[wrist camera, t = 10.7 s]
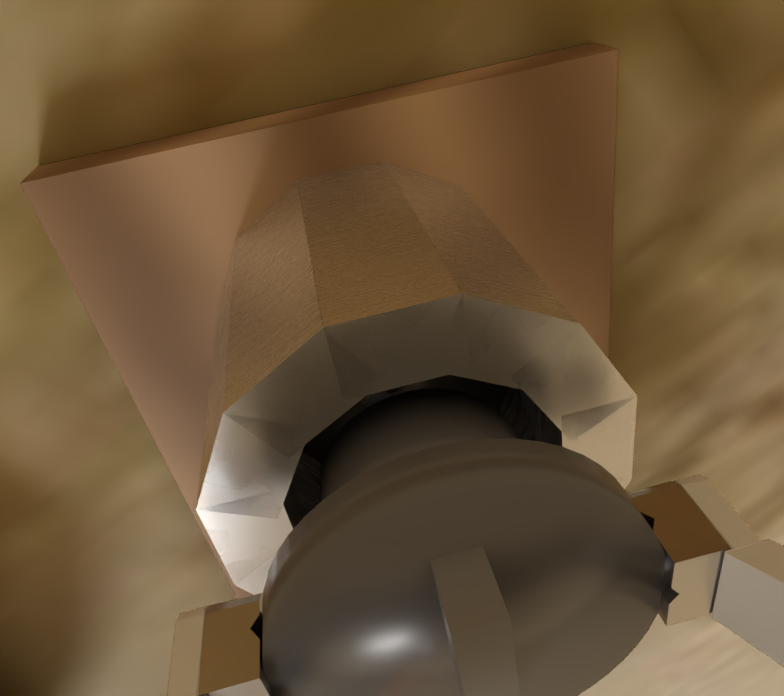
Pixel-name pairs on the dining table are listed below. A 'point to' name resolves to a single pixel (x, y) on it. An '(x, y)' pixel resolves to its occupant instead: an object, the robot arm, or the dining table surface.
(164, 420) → the walnut board
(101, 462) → the dining table surface
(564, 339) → the white cylinder
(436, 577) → the control knob
